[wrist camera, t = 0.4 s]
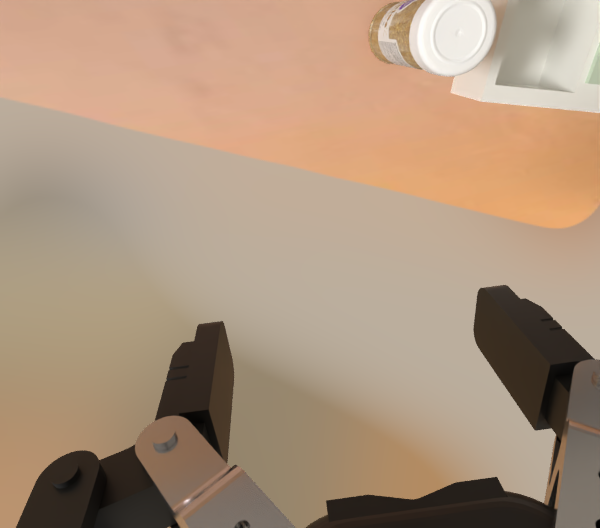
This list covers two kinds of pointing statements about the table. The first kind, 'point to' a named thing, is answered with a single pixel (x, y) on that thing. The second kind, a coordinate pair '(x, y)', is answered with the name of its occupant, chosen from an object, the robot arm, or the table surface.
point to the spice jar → (434, 34)
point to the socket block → (540, 56)
